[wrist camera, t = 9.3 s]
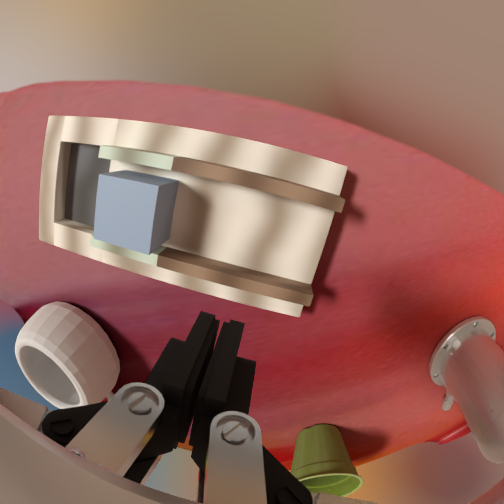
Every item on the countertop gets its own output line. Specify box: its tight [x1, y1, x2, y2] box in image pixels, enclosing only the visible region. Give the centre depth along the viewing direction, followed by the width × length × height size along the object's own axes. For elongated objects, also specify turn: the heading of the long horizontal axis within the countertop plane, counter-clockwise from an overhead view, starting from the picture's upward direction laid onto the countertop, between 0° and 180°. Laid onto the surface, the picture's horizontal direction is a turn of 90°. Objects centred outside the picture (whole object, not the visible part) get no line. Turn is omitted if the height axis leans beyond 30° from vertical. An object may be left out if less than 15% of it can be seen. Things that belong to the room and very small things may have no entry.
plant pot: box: [291, 424, 364, 497], centre depth 35 cm, size 12×12×11 cm
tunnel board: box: [39, 116, 347, 317], centre depth 27 cm, size 34×16×5 cm, turn 77°
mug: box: [15, 302, 120, 409], centre depth 34 cm, size 21×17×10 cm
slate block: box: [94, 170, 179, 255], centre depth 25 cm, size 6×6×5 cm
